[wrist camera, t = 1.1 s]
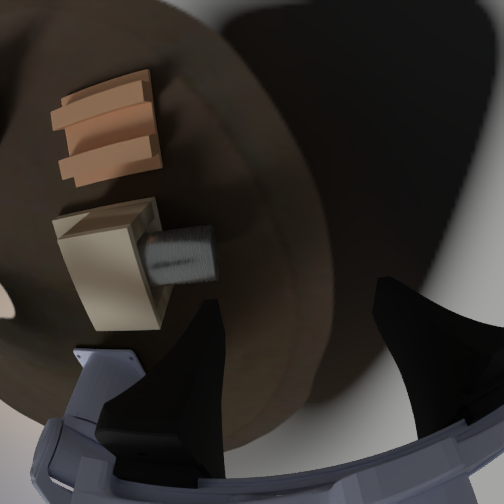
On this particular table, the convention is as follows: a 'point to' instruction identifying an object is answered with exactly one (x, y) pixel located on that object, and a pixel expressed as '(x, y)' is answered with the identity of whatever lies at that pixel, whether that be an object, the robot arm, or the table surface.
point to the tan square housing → (113, 264)
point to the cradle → (109, 130)
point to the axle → (179, 256)
